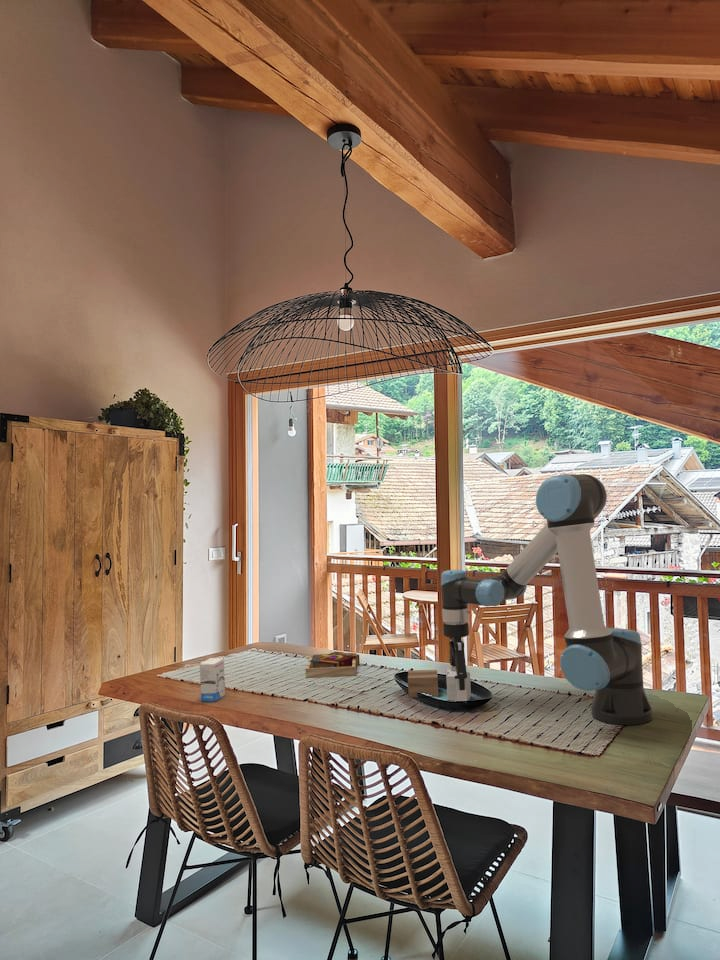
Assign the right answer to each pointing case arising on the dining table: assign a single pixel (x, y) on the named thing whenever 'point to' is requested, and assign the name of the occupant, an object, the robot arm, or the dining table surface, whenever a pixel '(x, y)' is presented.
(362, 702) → the dining table surface
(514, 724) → the dining table surface
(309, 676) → the book frame
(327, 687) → the dining table surface
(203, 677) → the ink box
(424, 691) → the walnut block
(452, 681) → the skincare box
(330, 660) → the decorative book
